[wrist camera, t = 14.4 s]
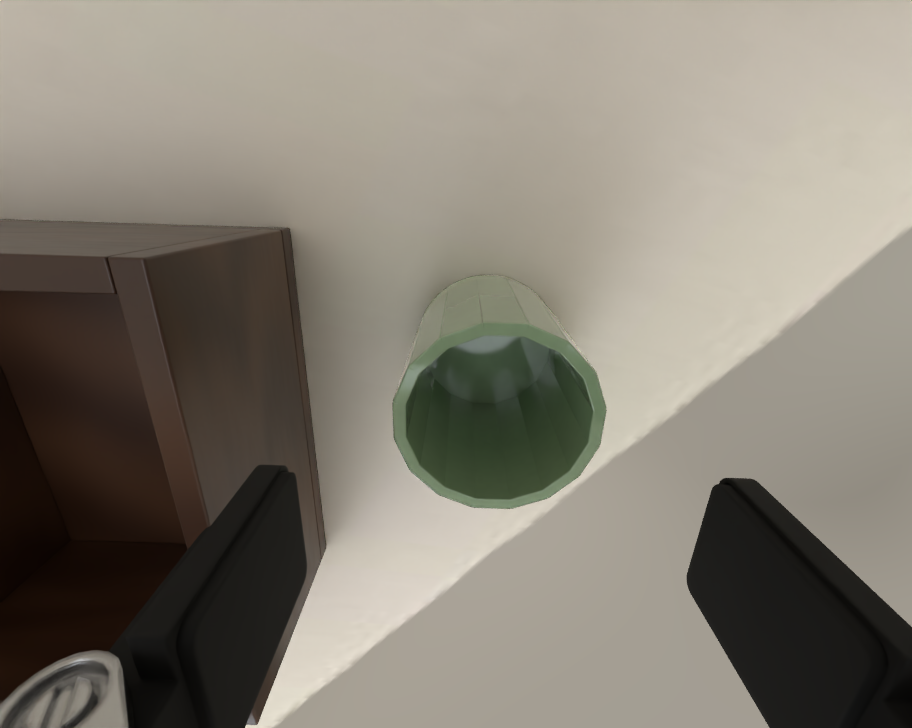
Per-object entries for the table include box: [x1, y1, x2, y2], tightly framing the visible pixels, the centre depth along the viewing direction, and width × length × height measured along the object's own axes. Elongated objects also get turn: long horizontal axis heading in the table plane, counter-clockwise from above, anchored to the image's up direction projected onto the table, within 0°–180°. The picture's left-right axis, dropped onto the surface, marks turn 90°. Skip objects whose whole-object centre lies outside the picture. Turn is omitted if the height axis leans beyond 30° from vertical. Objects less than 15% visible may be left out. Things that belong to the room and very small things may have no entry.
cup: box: [393, 275, 606, 509], centre depth 16 cm, size 6×6×8 cm
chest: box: [0, 219, 326, 725], centre depth 17 cm, size 18×15×9 cm
